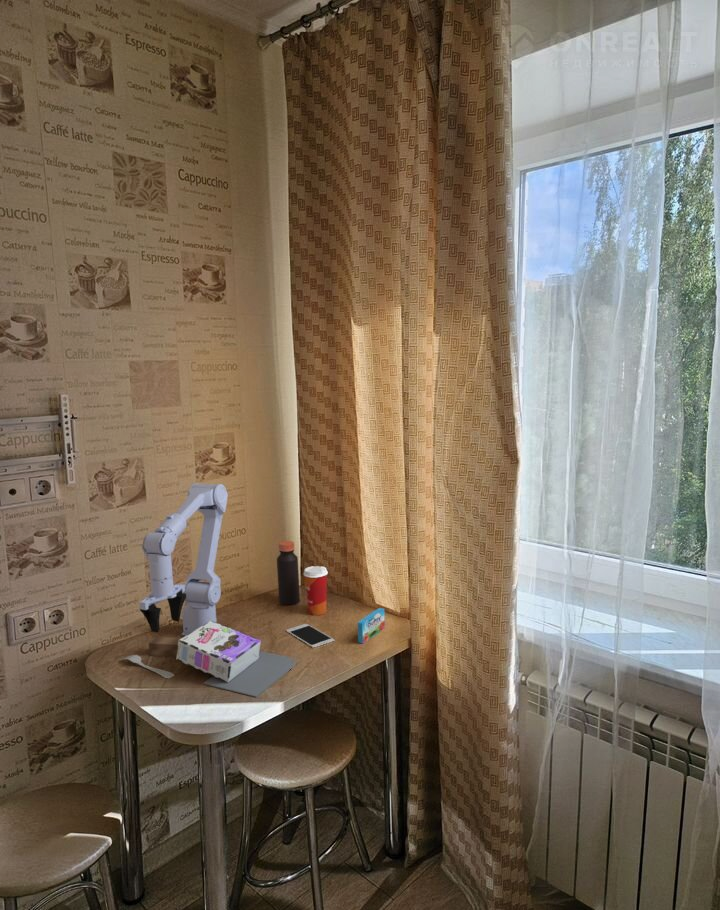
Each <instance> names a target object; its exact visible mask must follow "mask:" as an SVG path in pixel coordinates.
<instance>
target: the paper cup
mask: <svg viewBox="0 0 720 910" xmlns="http://www.w3.org/2000/svg"><path fill="white" fill-rule="evenodd" d="M302 574H303V576H304V584H305V585H304V586H305V594H306V601H307V608H308V609H307V610H308V614H309V615H310V614H311V615H310V616H314V615H319V616H323V615H325V614H326V613H327V610H328V608H327V606H328V596H327V595H328V574H329V572H328V570H327V567H325V566H319V565H316V566H314V565H313V566H308V567H306V568H304V570H303V573H302ZM324 613H325V614H324ZM322 614H323V615H322Z"/></svg>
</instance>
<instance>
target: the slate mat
mask: <svg viewBox="0 0 720 910" xmlns="http://www.w3.org/2000/svg"><path fill="white" fill-rule="evenodd" d="M291 658H292V659H293V661H295V660H296V659H297V661H300V660H301V659H300V660H299V658H295V659H294V657H291V656H290V657H289V656H286V655H280V654H276V653H271V652H267V651H266V652H265V651H262V650H260V652H259V658H258V660H256V661H255V662H254V663H252V664H251V665H250V666H249V667H247V668H246V669H245V670H244V671H242V672H241V673H240V674H239V675H237V676H236V677H235V678H233V679H232V680H231V681H230V682H225V681H223V680H221V679H219V678H216V677H214V676H211V677H210V678H209V679H207V680H206V681H204V682H203V683H202V684H203V685H205V686H209V687H213V688H216V689H217V688H218V689H220V690H224V691H225V690H226V691H229V692H233V693H237V694H241V695H244V696H249V697H253V698H258V697H259V696H260V695H262V694H263V693H264V692H265V691H267V689H269V688H270V687H272V686H273V685H274V684H275V683H277V682H278V681H279V680H280V679H282V677H284V676H285V675H286V674H288V673H289V672H290V671H291V670H292V669H294V668H295V667H296V666H297V665H296V664H295V663H296V662H295V663H292V659H291ZM290 661H291V662H290ZM289 662H290V663H289ZM295 665H296V666H295ZM294 666H295V667H294ZM293 667H294V668H293ZM291 668H292V669H291ZM290 669H291V670H290ZM289 670H290V671H289ZM288 671H289V672H288Z"/></svg>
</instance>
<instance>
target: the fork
mask: <svg viewBox="0 0 720 910" xmlns="http://www.w3.org/2000/svg"><path fill="white" fill-rule="evenodd" d="M123 660H129V661H130V662H132V663H134V664H138V665H139V666H141V667H143V668H145V669H148V670H150V671H152V672H154V673H156V674H158V675H159V676H161V677H163V678H165V679H166V678H168V679H171V678H172V677H174V676H175V674H174V673H172V672H170V671H168V670H164V669H160V668H156V667H152V666H149V665H147V664H145V663H143V662H142V657H141V656H140V655H138V654H132V655H128V656H126V657H124V659H123V658H121V659H120V661H123Z"/></svg>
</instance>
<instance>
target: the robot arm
mask: <svg viewBox="0 0 720 910" xmlns="http://www.w3.org/2000/svg"><path fill="white" fill-rule="evenodd" d="M228 497H229V494H228V492H227V489H226V487H225V485H224V484H222V483H218V484H215V483H214V484H212V483H211V484H210V483H196V482H195V483H193V484H192V485H191V486H190V487H189V488H188V490H187V497H186V499H185V500H184V501H183V503H182V504H181V506H180V507H179V508H178V509H177V511H176V512H175V513H174V512H173V513H169V514H167V515H166V517H165V519H164V520H163V521H162V522H161V523H160V524H159V525H158V527H157V528H156V529H155V530H154V531H151V532H149V533H148V534H146V535H144V537H143V539H142V545H141V548H142V551H143V552H144V554H145V558H146V560H147V561H148V571H149V572H148V573H149V580H150V591H151V592H150V594H149V595H147V596H146V597H145V598H144V599H143V600H140V601H139V611H140V612H141V613H142V615H143V616H144V617H145V619H146V621H147V623H148V625H149V628H150V631H151V632H152V633H159V632H160V616H161V615H160V614H161V612H162V611H161V610H162V608H161V607H157V604H159V603H162V602H163V601H165V600H167V602H168V606H169V613H170V617H171V618H170V619H171V621H174V622H179V621H180V620H181V619H180V618H182V628H183V629H182V630H183V632H182V633H181V636H183V637H185V636H187V635H188V634H190V633H192V632H193V631H195V630H196V629H198V628H200V627H201V626H203V625H205V624H206V623H208V622H209V621H213V622H216V623H218V622H217V621H218V620H217V610H216V607H217V606H216V604H218V602H219V601H220V598H221V594H222V589H221V578H220V576H218V575H217V574H216V573H215V572H214V571H215V565H216V560H217V553H218V548H219V541H220V533H221V528H222V524H223V523H222V522H223V517H224V514H226V509H227V503H228ZM197 511H198V512H199V513H201V514H202V516H203V524H202V529H201V535H200V540H199V547H198V551H197V552H198V553H197V558H196V563H195V564H196V565H195V569H194V570H193V571H192V572H190V573H189V574H188V575H187V576H186V580H185V583H184V584H183V583H178V584H175V585H174V576H173V575H174V574H173V566H172V565H173V563H172V553H173V552H174V550H175V546H176V544H177V541H178V538H179V537H180V536H181V534H183V532H184V531H185V529H186V528H187V521H188V520H189V519H190V518H191V517H192V516H193V514H195V513H196V512H197ZM184 602H186V603H185V604H184ZM181 615H182V616H181Z"/></svg>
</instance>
